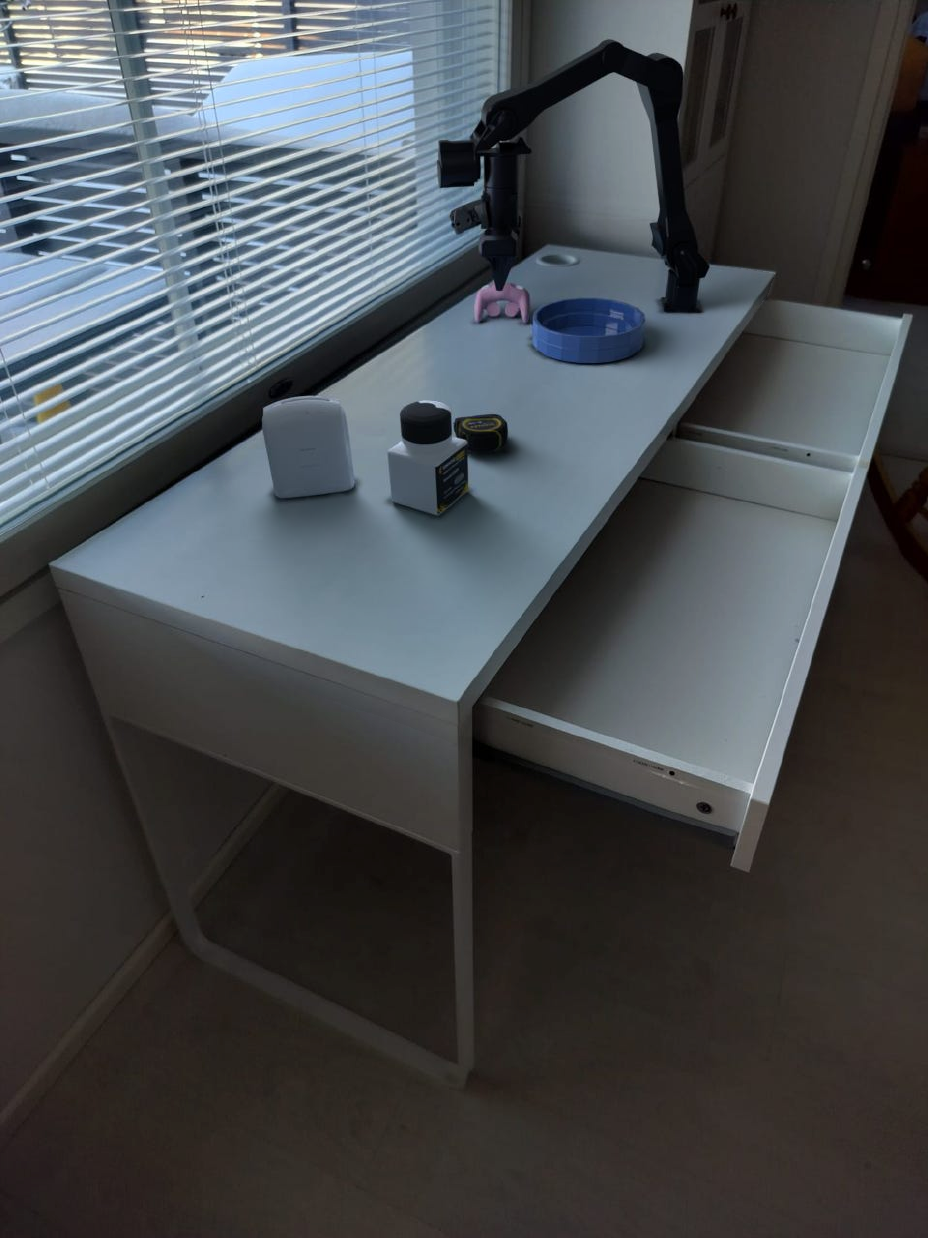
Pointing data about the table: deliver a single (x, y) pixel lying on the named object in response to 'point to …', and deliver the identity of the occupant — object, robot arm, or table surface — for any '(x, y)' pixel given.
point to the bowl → (588, 330)
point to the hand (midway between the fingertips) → (501, 281)
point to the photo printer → (308, 446)
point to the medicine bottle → (428, 459)
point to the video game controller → (510, 293)
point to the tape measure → (482, 432)
